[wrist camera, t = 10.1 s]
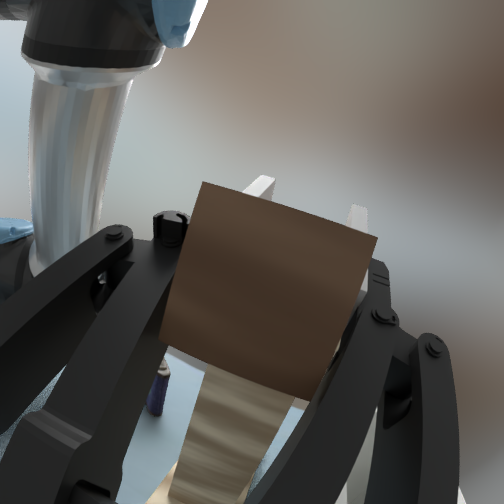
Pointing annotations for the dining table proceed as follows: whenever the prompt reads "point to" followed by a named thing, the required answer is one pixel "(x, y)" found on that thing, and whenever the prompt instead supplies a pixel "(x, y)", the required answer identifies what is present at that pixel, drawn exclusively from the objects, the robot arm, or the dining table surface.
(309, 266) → the walnut block
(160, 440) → the dining table surface
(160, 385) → the flask
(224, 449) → the birch pedestal
